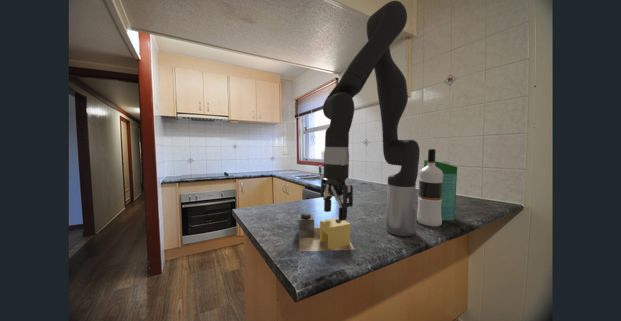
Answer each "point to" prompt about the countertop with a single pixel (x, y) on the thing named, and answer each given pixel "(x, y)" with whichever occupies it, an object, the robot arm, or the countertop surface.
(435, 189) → the vodka
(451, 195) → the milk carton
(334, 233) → the yellow cube with hole
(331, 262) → the countertop surface
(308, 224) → the peg board base
